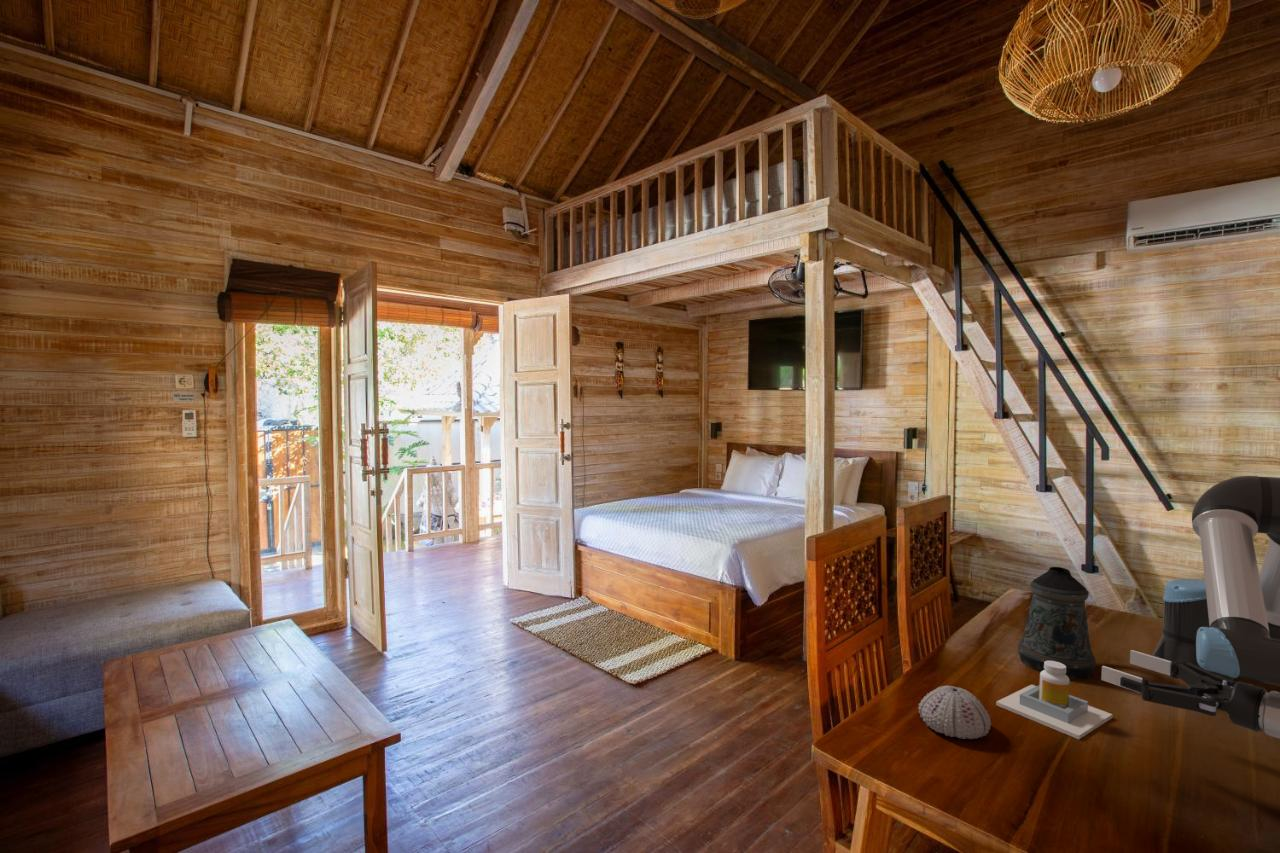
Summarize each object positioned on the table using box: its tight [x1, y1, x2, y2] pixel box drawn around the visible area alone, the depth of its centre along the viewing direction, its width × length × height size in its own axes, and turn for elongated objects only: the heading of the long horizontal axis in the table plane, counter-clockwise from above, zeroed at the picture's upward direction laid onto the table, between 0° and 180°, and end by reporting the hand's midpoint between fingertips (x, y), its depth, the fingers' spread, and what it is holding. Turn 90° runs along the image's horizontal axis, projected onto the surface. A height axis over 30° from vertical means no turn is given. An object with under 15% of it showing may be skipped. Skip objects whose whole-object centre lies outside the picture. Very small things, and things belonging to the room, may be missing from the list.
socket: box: [995, 684, 1113, 740], centre depth 131 cm, size 16×16×3 cm
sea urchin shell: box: [917, 685, 992, 740], centre depth 124 cm, size 13×14×8 cm
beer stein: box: [1017, 566, 1097, 680], centre depth 155 cm, size 16×19×25 cm
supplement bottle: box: [1038, 661, 1071, 709], centre depth 130 cm, size 5×5×10 cm
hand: (1116, 664), depth 121 cm, fingers open, 13 cm apart
